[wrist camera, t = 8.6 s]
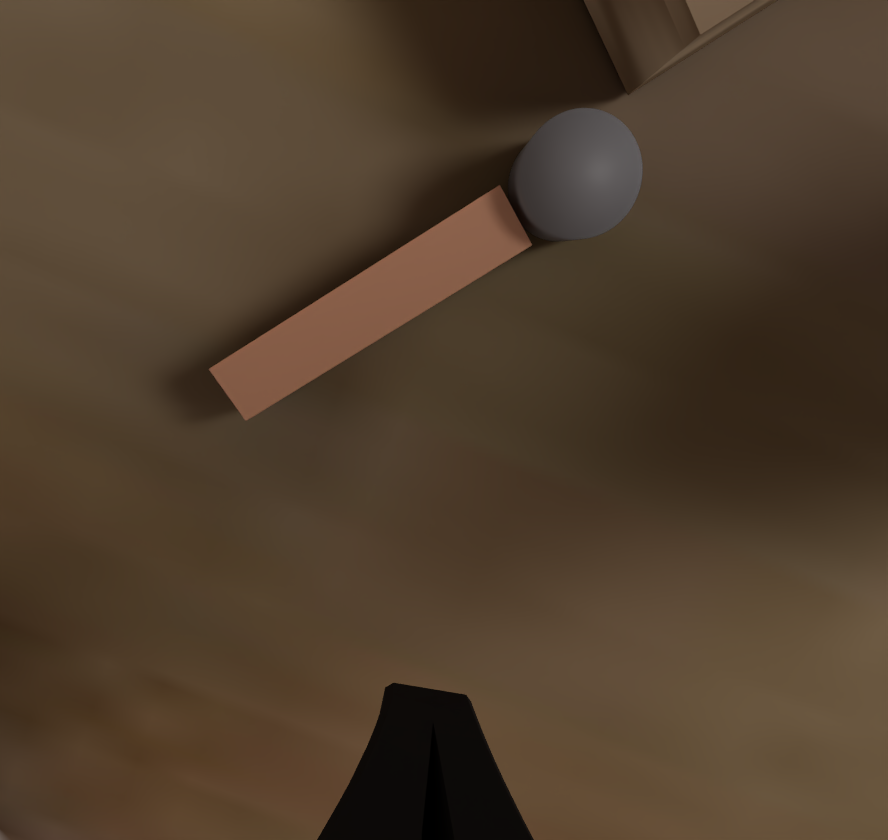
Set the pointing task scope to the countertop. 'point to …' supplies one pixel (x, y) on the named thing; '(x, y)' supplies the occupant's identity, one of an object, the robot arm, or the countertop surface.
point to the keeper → (450, 255)
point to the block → (663, 31)
